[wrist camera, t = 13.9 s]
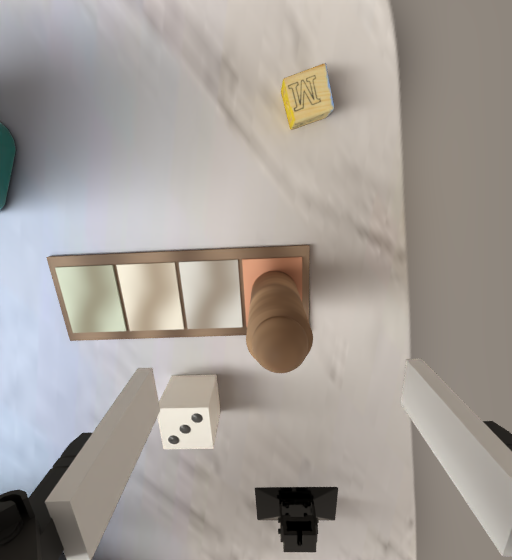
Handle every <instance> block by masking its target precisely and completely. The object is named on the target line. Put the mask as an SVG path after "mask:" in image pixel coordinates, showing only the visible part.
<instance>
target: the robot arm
mask: <svg viewBox="0 0 512 560" xmlns="http://www.w3.org/2000/svg"><path fill="white" fill-rule="evenodd" d="M401 405H402V406H403V408H404V409H405V411H406V412H407V414H408V415H409V417H410V418H411V420H412V421H413V423H414V424H415V426H416V427H417V429H418V430H419V432H420V433H421V435H422V436H423V438H424V439H425V441H426V442H427V444H428V445H429V447H430V448H431V450H432V451H433V453H434V454H435V456H436V457H437V459H438V460H439V462H440V463H441V465H442V466H443V468H444V469H445V471H446V472H447V474H448V475H449V477H450V478H451V480H452V481H453V483H454V484H455V486H456V487H457V489H458V490H459V492H460V493H461V495H462V496H463V498H464V499H465V501H466V502H467V504H468V505H469V507H470V508H471V510H472V511H473V513H474V514H475V516H476V517H477V519H478V520H479V522H480V523H481V525H482V526H483V528H484V529H485V531H486V532H487V534H488V535H489V537H490V538H491V540H492V541H493V543H494V544H495V546H496V547H497V549H498V551H499V552H500V554H501V555H502V556H512V434H511V433H509V431H507V430H505V429H504V428H502V427H501V426H499V425H498V424H496V423H494V422H493V421H482V420H481V419H480V418H479V417H478V416H477V415H476V414H475V413H474V412H473V411H472V410H471V409H470V408H469V407H468V406H467V405H466V404H465V403H464V402H463V401H462V400H461V399H460V398H459V397H458V396H457V395H456V394H455V393H454V391H452V389H450V387H449V386H448V385H447V384H446V383H445V382H444V381H443V380H442V379H441V378H440V377H439V376H438V375H437V374H436V373H435V372H434V371H433V370H432V369H431V368H430V367H429V366H428V365H427V364H426V363H425V362H424V361H423V360H422V359H406V367H405V375H404V383H403V391H402V399H401ZM159 412H160V407H159V402H158V396H157V391H156V385H155V380H154V374H153V369H152V368H138V369H137V370H136V372H135V373H134V375H133V376H132V377H131V379H130V380H129V382H128V383H127V385H126V386H125V387H124V389H123V390H122V392H121V393H120V395H119V396H118V397H117V399H116V400H115V402H114V403H113V405H112V406H111V407H110V409H109V410H108V412H107V413H106V415H105V416H104V417H103V419H102V420H101V422H100V423H99V425H98V426H97V427H96V429H95V430H94V432H93V433H82V434H81V435H80V436H79V437H77V438H76V439H75V440H74V441H72V442H71V443H70V444H69V446H68V447H67V448H66V449H65V451H64V452H63V453H62V455H61V457H60V458H59V459H58V460H57V461H56V463H55V464H54V465H53V468H52V469H50V471H49V472H48V473H47V475H46V476H45V477H44V478H43V480H42V481H41V482H40V484H39V485H38V486H37V488H36V489H35V490H34V492H33V493H32V494H31V496H30V497H29V498H28V497H27V494H26V492H24V491H22V490H14V491H9V492H7V493H4V494H2V495H0V560H92V558H93V556H94V554H95V551H96V549H97V547H98V545H99V543H100V541H101V538H102V536H103V534H104V532H105V530H106V527H107V525H108V523H109V521H110V519H111V517H112V514H113V512H114V510H115V508H116V506H117V504H118V501H119V499H120V497H121V495H122V493H123V491H124V488H125V486H126V484H127V482H128V480H129V477H130V475H131V473H132V471H133V469H134V467H135V464H136V462H137V460H138V458H139V456H140V454H141V451H142V449H143V447H144V445H145V443H146V440H147V438H148V436H149V434H150V432H151V430H152V427H153V425H154V423H155V421H156V419H157V417H158V414H159ZM63 551H64V554H65V555H64V554H62V552H63Z"/></svg>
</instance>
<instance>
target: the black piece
mask: <svg viewBox="0 0 512 560" xmlns="http://www.w3.org/2000/svg"><path fill="white" fill-rule="evenodd" d="M337 494H338V487H270V488H255V495H256V507H257V519H258V520H278V523H280V529H278V534H280V537H281V542H283V549H284V552H316V542H317V534H318V524H317V523H319V521H318V520H335V514H336V504H337Z"/></svg>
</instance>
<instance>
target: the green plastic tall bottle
mask: <svg viewBox="0 0 512 560" xmlns="http://www.w3.org/2000/svg"><path fill="white" fill-rule="evenodd" d="M15 153H16V148H15V142H14V139H13V137H12V135H11V134H10V132H9V130H8V129H7V128H6V127H5V126H4V125H3V124H2V123H1V122H0V210H1V209H2V208H3V207H4V205H5V203H6V198H7V193H8V188H9V183H10V178H11V173H12V168H13V163H14V158H15Z"/></svg>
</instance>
